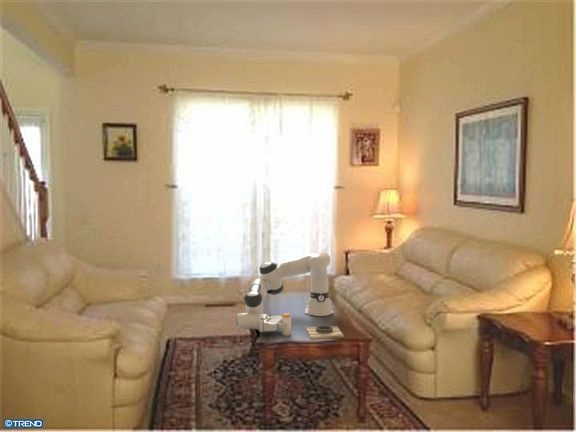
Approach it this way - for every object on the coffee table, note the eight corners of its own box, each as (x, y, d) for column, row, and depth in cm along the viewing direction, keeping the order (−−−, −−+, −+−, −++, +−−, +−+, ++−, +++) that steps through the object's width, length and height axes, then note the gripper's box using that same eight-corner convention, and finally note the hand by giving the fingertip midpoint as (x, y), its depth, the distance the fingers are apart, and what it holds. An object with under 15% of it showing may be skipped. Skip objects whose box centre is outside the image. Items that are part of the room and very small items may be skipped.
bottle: (281, 333, 292) (281, 313, 292) (290, 332, 293) (290, 313, 292) (282, 335, 287) (282, 315, 287) (291, 335, 288) (291, 315, 287)
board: (305, 329, 300) (305, 323, 300) (336, 328, 302) (337, 323, 302) (310, 338, 282) (310, 332, 282) (343, 337, 284) (343, 331, 284)
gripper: (269, 322, 303) (292, 324, 300) (258, 332, 283) (283, 334, 280) (269, 312, 303) (292, 313, 299) (258, 321, 283) (283, 322, 279)
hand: (288, 323), depth 289 cm, fingers closed on bottle, 5 cm apart
